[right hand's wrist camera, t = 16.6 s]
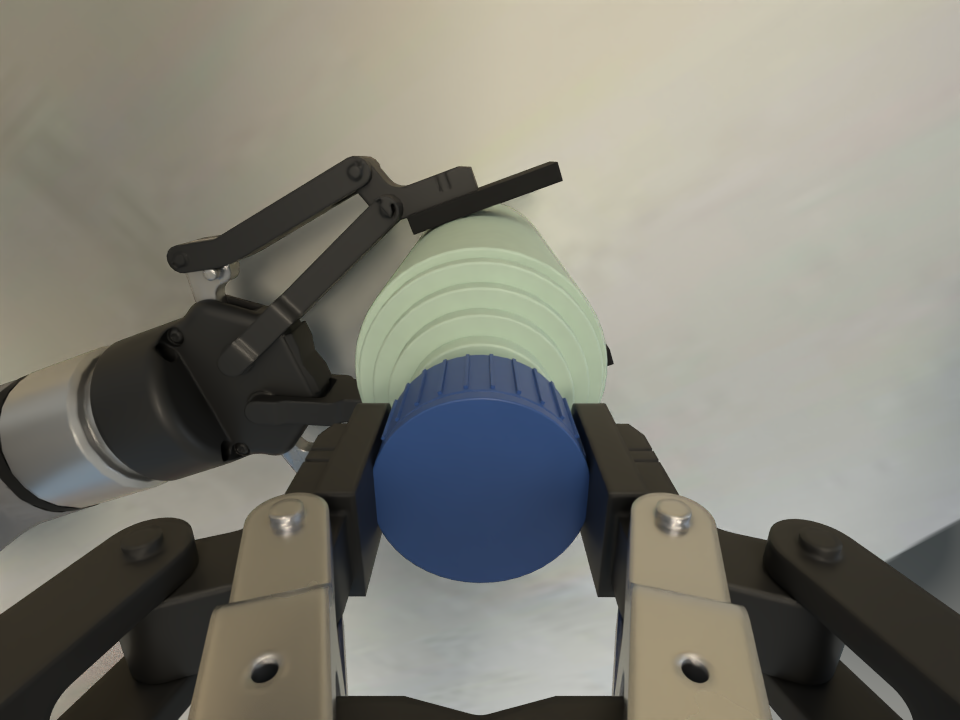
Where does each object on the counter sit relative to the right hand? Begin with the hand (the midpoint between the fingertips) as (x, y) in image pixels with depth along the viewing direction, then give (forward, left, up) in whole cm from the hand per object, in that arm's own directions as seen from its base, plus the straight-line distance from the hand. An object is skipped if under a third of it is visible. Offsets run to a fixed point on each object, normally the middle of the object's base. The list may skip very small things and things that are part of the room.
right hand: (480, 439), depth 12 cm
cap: (0, 0, +2) cm, 2 cm away
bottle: (0, 0, -19) cm, 19 cm away
